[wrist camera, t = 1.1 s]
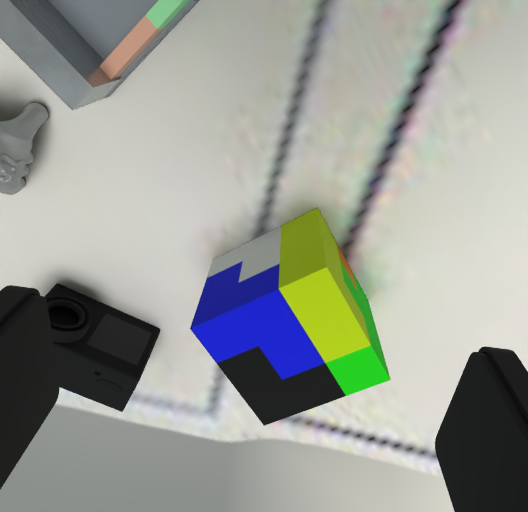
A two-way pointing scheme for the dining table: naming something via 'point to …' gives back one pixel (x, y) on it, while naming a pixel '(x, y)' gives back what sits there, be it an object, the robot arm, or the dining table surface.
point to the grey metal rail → (123, 28)
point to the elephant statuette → (18, 146)
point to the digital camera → (97, 347)
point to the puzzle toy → (289, 321)
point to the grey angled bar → (54, 51)
